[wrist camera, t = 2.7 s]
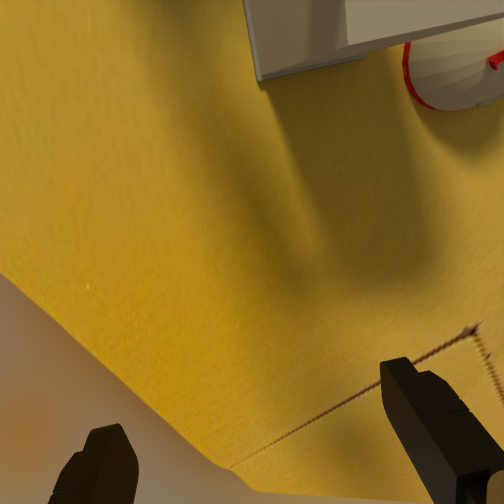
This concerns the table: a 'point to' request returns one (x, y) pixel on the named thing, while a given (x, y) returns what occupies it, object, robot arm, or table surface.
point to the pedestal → (348, 28)
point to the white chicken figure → (457, 67)
